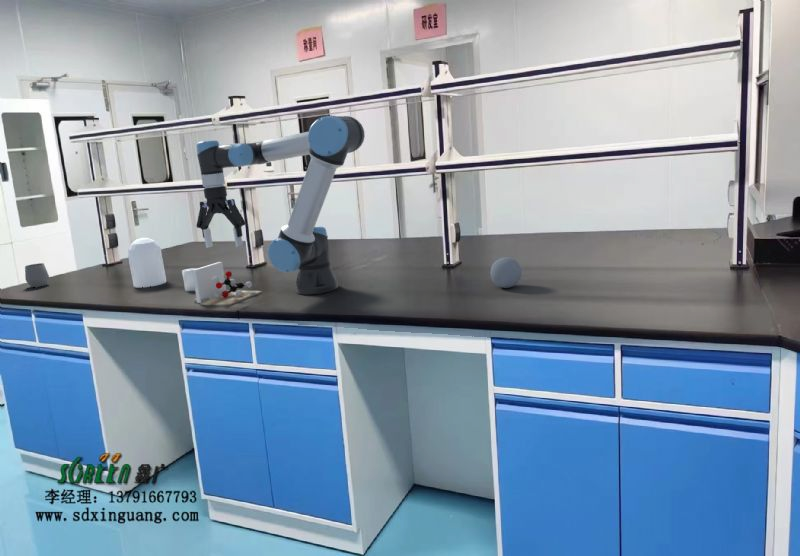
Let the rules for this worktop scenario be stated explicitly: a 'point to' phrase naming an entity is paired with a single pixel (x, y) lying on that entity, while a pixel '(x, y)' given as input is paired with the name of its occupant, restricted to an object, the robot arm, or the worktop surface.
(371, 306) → the worktop surface
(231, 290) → the molecular model
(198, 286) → the occluder screen
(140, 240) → the container
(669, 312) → the worktop surface
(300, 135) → the robot arm
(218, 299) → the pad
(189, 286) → the white upright block
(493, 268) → the decorative stone
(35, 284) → the cup
